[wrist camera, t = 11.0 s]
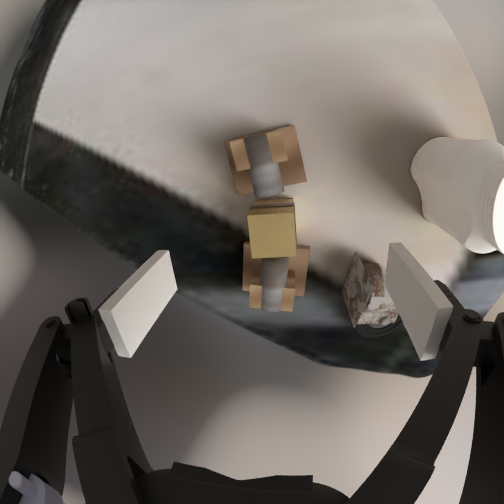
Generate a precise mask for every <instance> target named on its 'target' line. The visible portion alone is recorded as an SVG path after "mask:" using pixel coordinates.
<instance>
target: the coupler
mask: <svg viewBox="0 0 504 504" xmlns="http://www.w3.org/2000/svg"><path fill="white" fill-rule="evenodd" d="M247 219H248V228H249V236H250V245H251V254H252V258H273V257H294V256H296V247H297V239H296V221H295V206H294V203H293V198H290V199H274V200H260V201H256V202H255V203H254V205H252V206H251V207H250V212H249V213H248V215H247Z"/></svg>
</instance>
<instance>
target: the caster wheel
mask: <svg viewBox="0 0 504 504" xmlns="http://www.w3.org/2000/svg"><path fill="white" fill-rule="evenodd" d="M385 277H386V271H385V269H384V267H383V266H382V265H380V264H374V263H362V262H361V260H360V258H359V256H358V254H357V252H355V255H354V258H353V261H352V264H351V267H350V270H349V272H348V275H347V278H346V281H345V284H344V286H343V289H342V294H343V297H344V300H345V303H346V306H347V309H348V312H349V317H350V319H351V321H352V324H353V328H356V331H357V332H358V333H359V334H360V335H362V336H365V337H379V336H382V335H385V334H388V333H390V332H392V331H394V330H395V329H397V328H398V327H399V326H401V325H402V324H403V321H402V319H401V317H400V315H399V313H398V311H397V309H396V307H395V305H394V303H393V301H392V299H391V297H390V295H389V293H388V291H387V289H386V287H385V285H384V284H385Z"/></svg>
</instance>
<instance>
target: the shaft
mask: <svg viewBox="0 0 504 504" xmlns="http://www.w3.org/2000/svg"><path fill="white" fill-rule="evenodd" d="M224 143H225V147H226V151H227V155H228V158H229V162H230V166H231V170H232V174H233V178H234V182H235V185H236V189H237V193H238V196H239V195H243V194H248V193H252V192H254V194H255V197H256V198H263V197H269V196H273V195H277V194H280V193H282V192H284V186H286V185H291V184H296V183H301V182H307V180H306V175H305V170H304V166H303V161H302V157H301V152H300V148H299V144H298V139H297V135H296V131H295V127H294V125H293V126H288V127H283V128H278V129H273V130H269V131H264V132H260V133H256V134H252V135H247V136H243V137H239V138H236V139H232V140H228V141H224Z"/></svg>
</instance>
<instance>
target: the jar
mask: <svg viewBox="0 0 504 504" xmlns="http://www.w3.org/2000/svg"><path fill="white" fill-rule="evenodd" d="M410 171H411V174H412V177H413V179H414V180H415V182H416V184H417V186H418V188H419V191H420V195H421V200H422V212H423V215H424V218H426V219H427V220H428V221H430V222H431V223H433V224H435V225H437V226H439V227H440V228H441V229H443V230H444V231H446V232H447V233H449V234H450V235H451V236H453V237H454V238H455V239H457V240H458V241H459V242H460V243H461V244H462V245H463V246H465V247H466V248H467V249H469V250H471V251H473V252H476V253H489V252H492V251H495V250H498V251H500V252H501V253H503V254H504V146H503V145H501V144H499V143H497V142H495V141H491V140H471V139H457V138H450V137H437V138H434V139H431V140H429V141H427V142H426V143H425V144H424V145H422V146H421V148H420V149H419V150H418V151H417V153H416V155H415V156H414V159H413V161H412V164H411V168H410Z"/></svg>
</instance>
